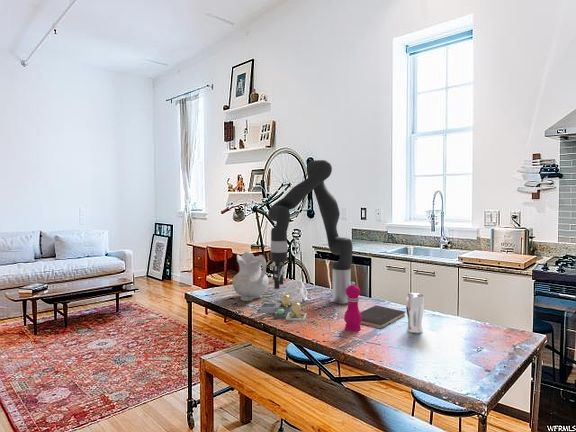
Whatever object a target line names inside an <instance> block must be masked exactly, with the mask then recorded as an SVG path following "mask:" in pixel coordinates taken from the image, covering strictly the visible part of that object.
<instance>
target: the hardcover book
mask: <svg viewBox="0 0 576 432" xmlns="http://www.w3.org/2000/svg"><path fill="white" fill-rule="evenodd" d="M405 313H406V311H404V310H399V309H395V308H392V307H391V308H390V307H387V306H386V307H385V306H381V305H373V306H371V307H369V308H366V309H364V310H362V311H360V314H361V317H362V321H361V322H360V323H359V324H362V325H366V326H370V327H373V328H379V329H382V328H384V327H386V326H388V325H389V323H390V324H391V323H393V322H395V321H397V320H398V318H399V319H400V318H402V317H404V316H405Z"/></svg>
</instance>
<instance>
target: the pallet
mask: <svg viewBox="0 0 576 432" xmlns="http://www.w3.org/2000/svg"><path fill="white" fill-rule="evenodd" d="M278 309H284V312H287V314H288V313H289V312H292V303H290V308H283V307H282V302H280V303H278V302H275V303H274V302H263V303H261V305H260V307H259V311H258V313H268V314H275V313H276V312H278Z"/></svg>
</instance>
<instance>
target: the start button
mask: <svg viewBox="0 0 576 432" xmlns="http://www.w3.org/2000/svg"><path fill="white" fill-rule="evenodd" d="M278 315H284V309H278Z"/></svg>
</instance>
